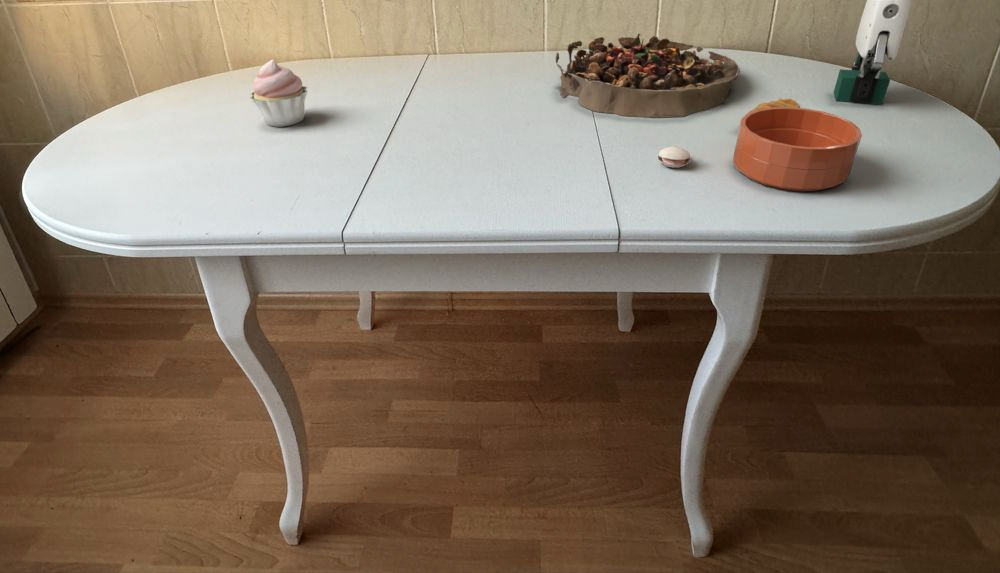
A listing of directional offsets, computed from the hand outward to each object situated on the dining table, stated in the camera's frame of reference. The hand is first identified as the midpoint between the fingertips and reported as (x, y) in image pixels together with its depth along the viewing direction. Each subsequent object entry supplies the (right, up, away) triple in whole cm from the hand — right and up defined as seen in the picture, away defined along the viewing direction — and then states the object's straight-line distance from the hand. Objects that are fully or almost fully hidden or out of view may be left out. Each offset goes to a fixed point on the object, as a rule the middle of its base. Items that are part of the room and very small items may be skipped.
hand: (858, 95), depth 105 cm
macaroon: (-36, -15, -18) cm, 43 cm away
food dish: (-34, +5, +10) cm, 36 cm away
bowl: (-21, -16, -21) cm, 34 cm away
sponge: (0, 0, 0) cm, 1 cm away
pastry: (-19, -8, -9) cm, 22 cm away
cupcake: (-97, -4, 0) cm, 97 cm away
